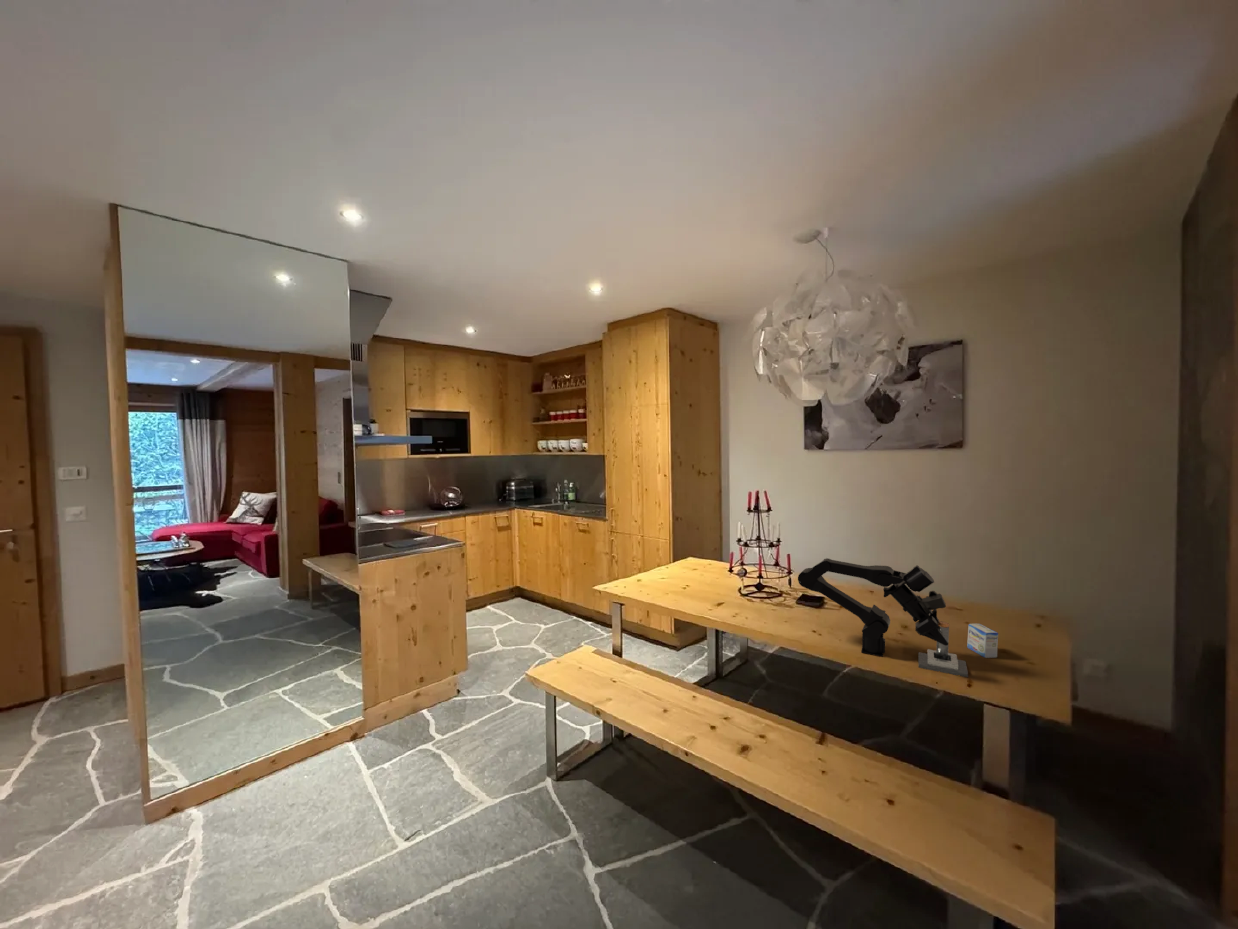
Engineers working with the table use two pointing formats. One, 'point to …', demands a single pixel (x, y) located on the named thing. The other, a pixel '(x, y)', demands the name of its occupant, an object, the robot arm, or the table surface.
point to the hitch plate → (960, 666)
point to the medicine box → (982, 640)
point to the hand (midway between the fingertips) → (946, 639)
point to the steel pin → (940, 648)
